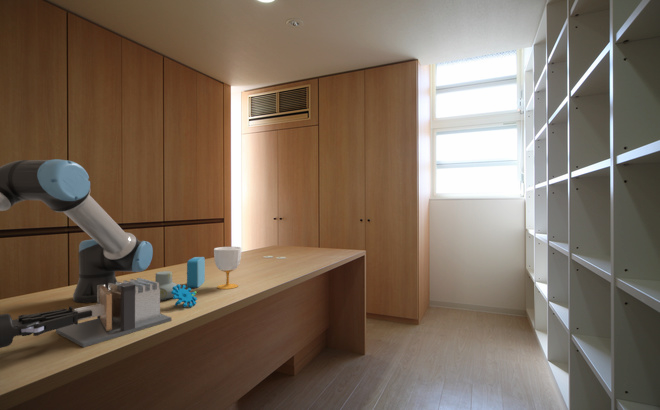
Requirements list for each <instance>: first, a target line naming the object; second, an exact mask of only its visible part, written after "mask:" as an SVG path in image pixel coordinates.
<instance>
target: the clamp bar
mask: <svg viewBox="0 0 660 410" xmlns="http://www.w3.org/2000/svg"><path fill="white" fill-rule="evenodd" d="M96 304H102V305H104V315H100V316H96V319H97V318H98V319H100V320H101V322H102V324H103V325H104V327H105V329H106V331H109V330H112V294H111V293H110V292H109V290H108V289H107V288H106V284H101V285H97V302H96Z"/></svg>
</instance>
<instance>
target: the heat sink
mask: <svg viewBox="0 0 660 410" xmlns="http://www.w3.org/2000/svg"><path fill="white" fill-rule="evenodd" d="M126 283H130V284H134V285H135V324H139V323H142V322H146V321H149V320H153V319H156V318H159V317H160V314H161V300H160V289H159V283H158V282H155V281H153V280H150V279H145V278H141V277H138V278H136V279H133V278H132V279H129V280H122V282H121V281H117V282H116V284H113V283H108V290H109V292H110V293H111V294H112V321H113V322H116V323H118V324H121V291H118V290H117V285H120V284H126Z"/></svg>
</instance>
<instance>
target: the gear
mask: <svg viewBox="0 0 660 410" xmlns="http://www.w3.org/2000/svg"><path fill="white" fill-rule="evenodd" d="M176 284H177V285H176V286H174V287H173V288H172V289H173V290H172V292H171V293H172V294H174V296H173V297H172V298H173V299H172V300H177V301H175V303H174V305H175V306H178V305H181V304H182V303H183V304H182V307H184V308H186V307H189V308H193V307H194V306H195V305H196V304H197V302H196V301H197V300H198V298H197V297H196V294H198V293H197V291H196V290H195V291H192V288H188V287H187V285H185V284H183V285H181V284H179V283H176ZM177 288H178V289H177ZM186 288H187V289H186ZM191 291H192V292H191Z"/></svg>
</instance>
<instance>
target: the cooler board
mask: <svg viewBox="0 0 660 410" xmlns="http://www.w3.org/2000/svg"><path fill="white" fill-rule="evenodd" d="M117 290H118V291H121V324H118V323H116V322H113V321H112V330H109V331H106V329H105V327H104V325H103V324H102V322H101V320H100V319H98V318H97V317H96V318H94V319H91V320H86V321H82V322H78V324H73V325H70V326H66V327H63V328H59V329H56V330H55V333H56V334H58V335H60V336H62V337H64V338H66V339H67V340H70V341H71V342H73V343H75V344H77V345H79V346H81V347H82V348H86V347H90V346H93V345H95V344H99V343H103V342H105V341H109V340H113V339H116V338H119V337H122V336H125V335H129V334H131V333H135V332H139V331H141V330H145V329H148V328H152V327H156V326H158V325H161V324H165V323H168V322H171V321H172V317H171V316H168V315H165V314H162V313H160V317H159V318H156V319H153V320H149V321H146V322H142V323H139V324H135V285H134V284H130V283H126V284H120V285H117Z"/></svg>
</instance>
